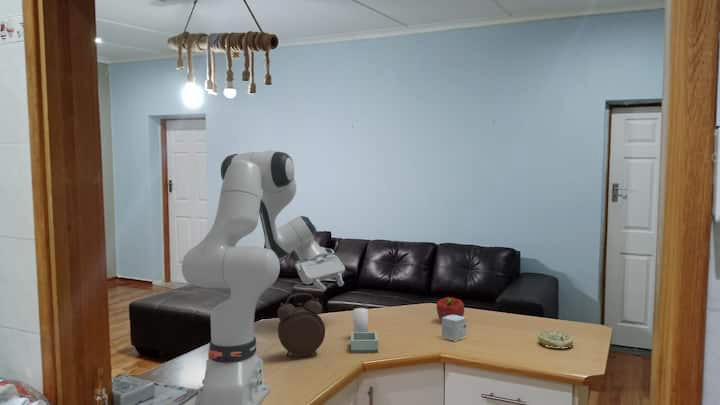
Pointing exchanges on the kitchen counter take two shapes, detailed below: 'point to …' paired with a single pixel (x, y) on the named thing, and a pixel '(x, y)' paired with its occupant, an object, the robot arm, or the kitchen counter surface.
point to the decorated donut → (555, 339)
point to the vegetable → (450, 307)
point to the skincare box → (453, 327)
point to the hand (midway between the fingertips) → (333, 287)
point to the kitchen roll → (360, 319)
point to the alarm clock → (301, 326)
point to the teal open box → (364, 342)
